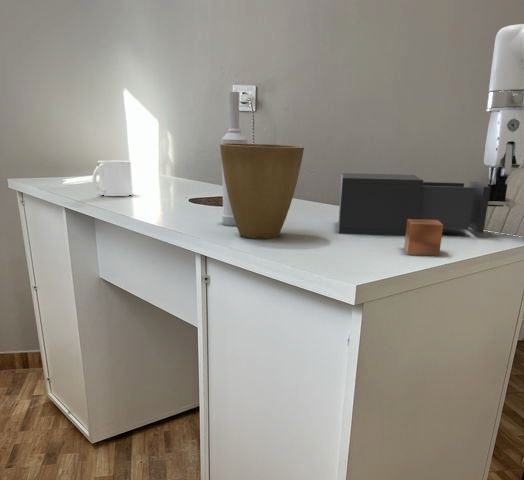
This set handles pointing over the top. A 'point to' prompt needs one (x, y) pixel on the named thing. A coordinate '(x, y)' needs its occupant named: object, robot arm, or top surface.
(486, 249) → the top surface
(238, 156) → the plant pot
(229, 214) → the bottle
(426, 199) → the drawer
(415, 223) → the block
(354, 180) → the cabinet
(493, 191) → the robot arm
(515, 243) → the top surface
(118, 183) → the mug
